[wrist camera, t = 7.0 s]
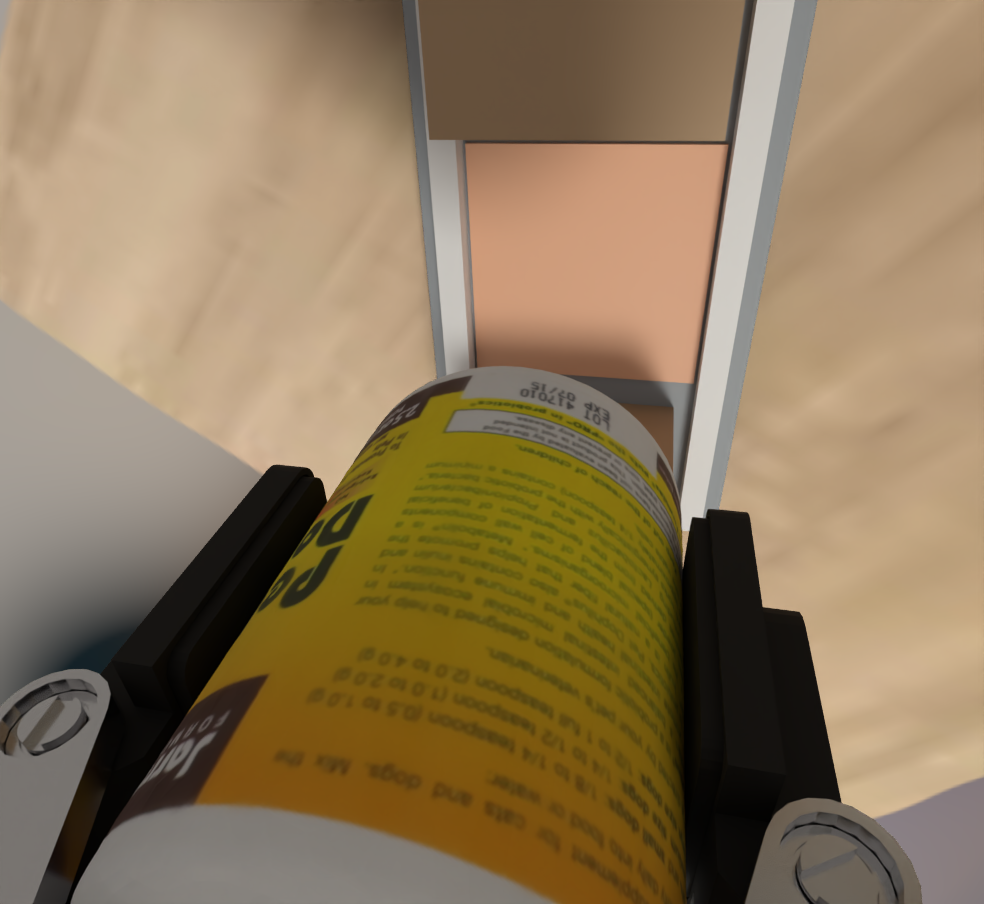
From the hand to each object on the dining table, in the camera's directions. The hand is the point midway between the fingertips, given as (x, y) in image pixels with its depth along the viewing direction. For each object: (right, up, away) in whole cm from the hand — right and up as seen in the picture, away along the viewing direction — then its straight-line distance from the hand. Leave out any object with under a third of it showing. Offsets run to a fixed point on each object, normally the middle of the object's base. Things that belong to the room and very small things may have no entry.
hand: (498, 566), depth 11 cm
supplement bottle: (0, +1, +2) cm, 2 cm away
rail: (+3, +8, +11) cm, 14 cm away
